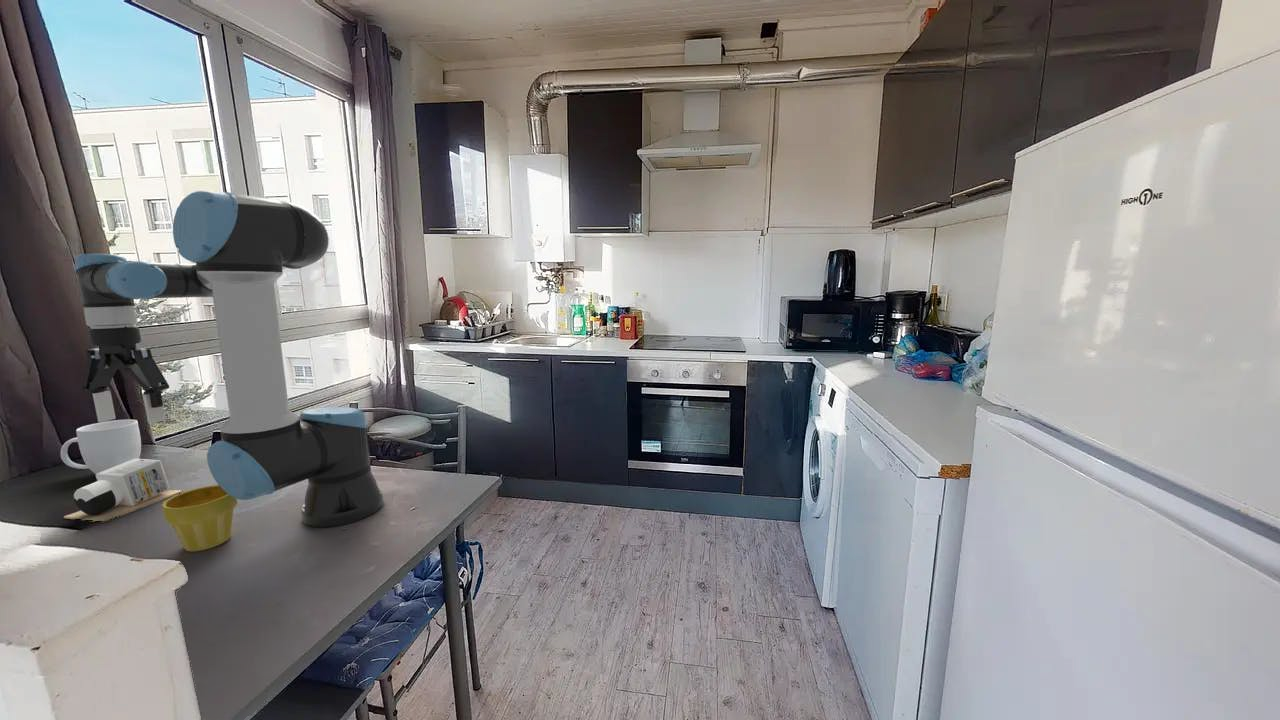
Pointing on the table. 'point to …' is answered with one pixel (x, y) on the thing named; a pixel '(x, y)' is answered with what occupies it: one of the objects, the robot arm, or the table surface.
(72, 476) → the table surface
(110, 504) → the container
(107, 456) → the mug
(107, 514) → the wooden board
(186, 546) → the plant pot
